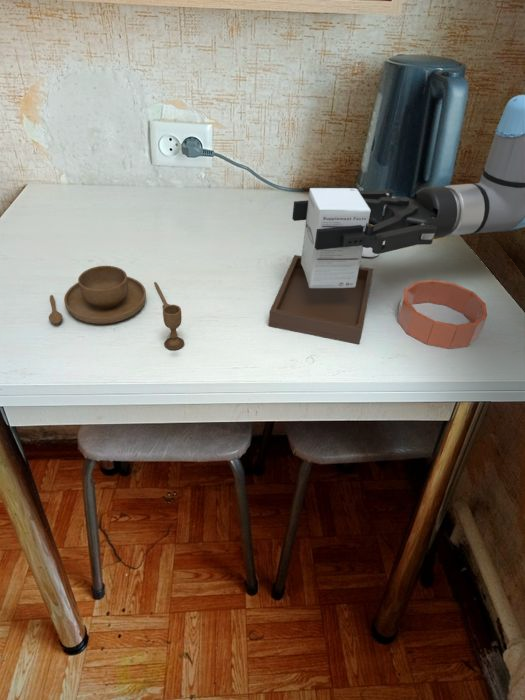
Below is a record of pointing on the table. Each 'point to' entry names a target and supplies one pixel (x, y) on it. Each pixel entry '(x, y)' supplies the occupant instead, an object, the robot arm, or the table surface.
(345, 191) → the white packaging box
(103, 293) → the place setting
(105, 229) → the table surface
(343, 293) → the tray
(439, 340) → the terracotta ring
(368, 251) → the white jar
